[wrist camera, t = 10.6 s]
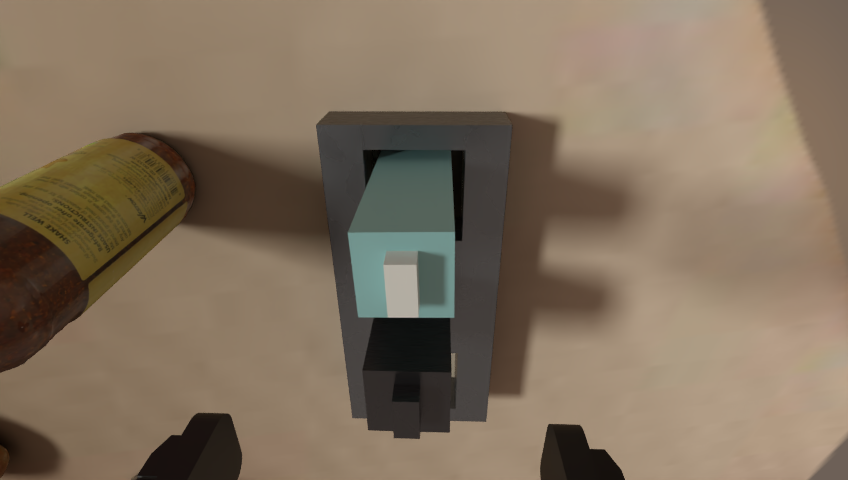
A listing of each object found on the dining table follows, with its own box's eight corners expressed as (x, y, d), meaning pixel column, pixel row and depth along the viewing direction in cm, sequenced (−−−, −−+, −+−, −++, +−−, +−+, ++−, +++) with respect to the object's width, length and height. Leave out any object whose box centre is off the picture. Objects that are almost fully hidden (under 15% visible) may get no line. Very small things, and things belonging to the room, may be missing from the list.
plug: (450, 207, 28) (454, 333, 17) (387, 207, 28) (354, 333, 18) (450, 145, 26) (455, 245, 15) (383, 145, 26) (342, 245, 16)
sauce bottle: (93, 118, 26) (-617, 362, 9) (200, 141, 26) (-269, 418, 9) (107, 216, 29) (-392, 540, 12) (203, 235, 30) (-141, 576, 12)
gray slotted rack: (482, 390, 35) (499, 555, 25) (359, 387, 36) (324, 548, 25) (505, 111, 25) (550, 195, 14) (329, 111, 25) (248, 192, 15)
